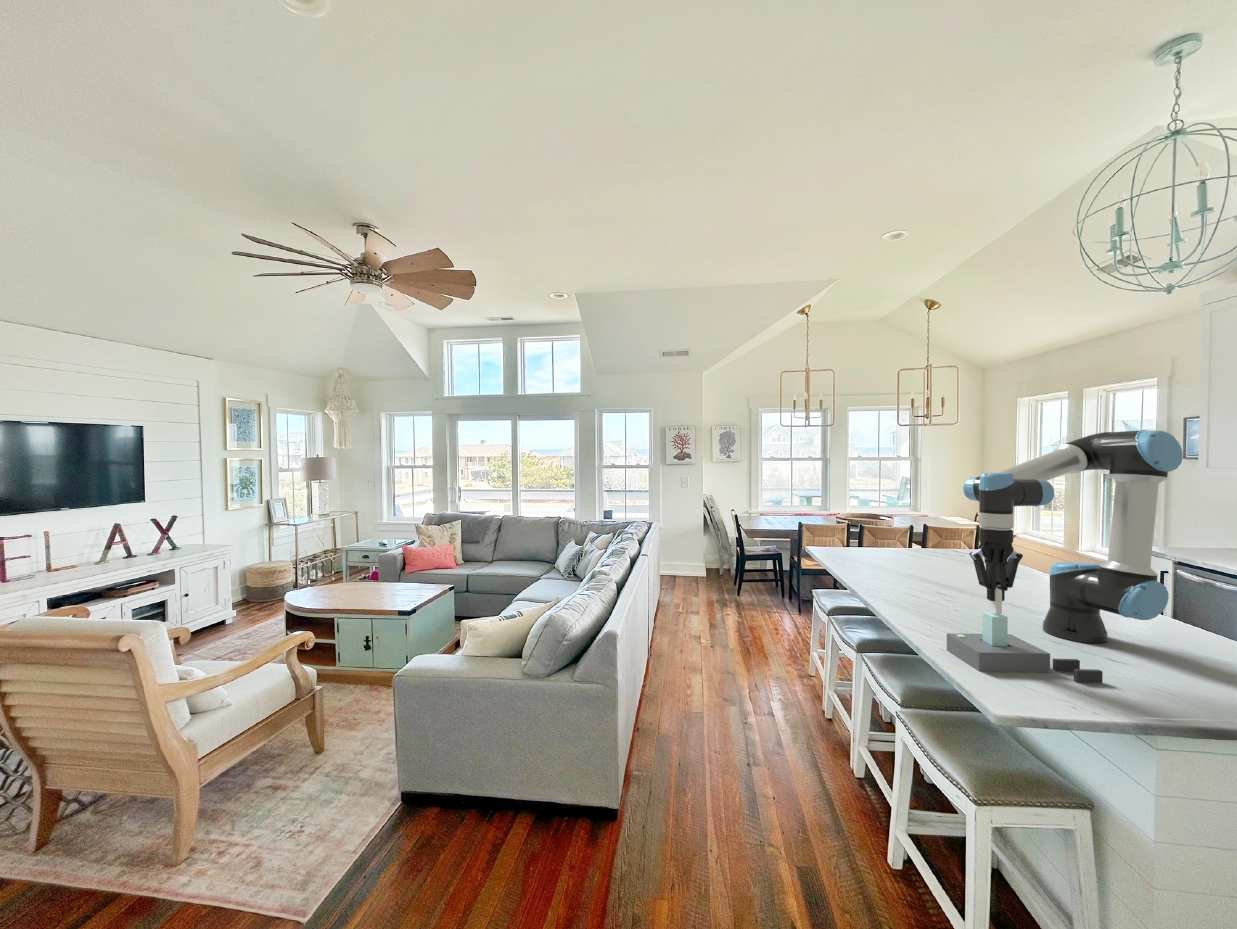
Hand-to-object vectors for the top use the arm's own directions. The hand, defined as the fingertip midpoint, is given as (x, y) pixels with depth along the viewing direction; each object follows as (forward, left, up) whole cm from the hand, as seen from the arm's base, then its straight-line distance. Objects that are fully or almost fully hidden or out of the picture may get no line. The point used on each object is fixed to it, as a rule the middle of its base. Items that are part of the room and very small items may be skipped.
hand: (995, 612), depth 135 cm
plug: (0, 0, -13) cm, 13 cm away
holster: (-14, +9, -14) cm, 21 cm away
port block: (0, 0, -14) cm, 14 cm away
